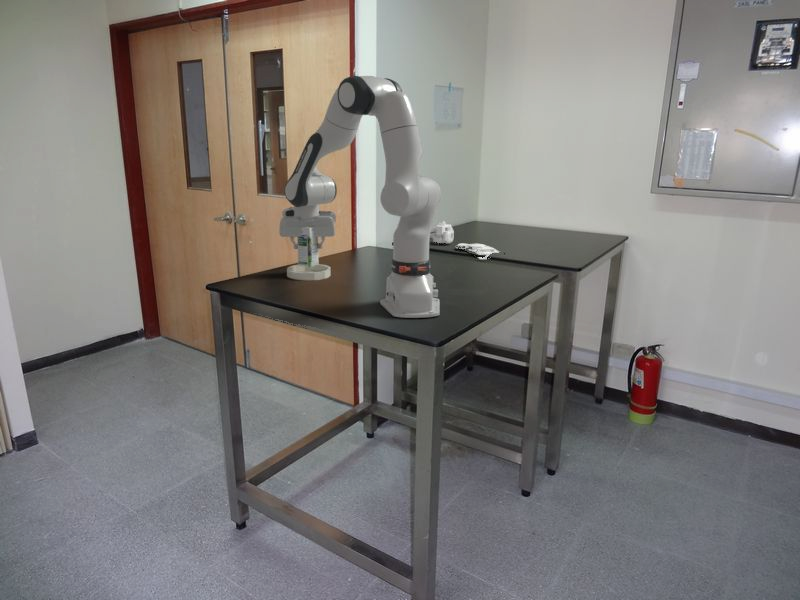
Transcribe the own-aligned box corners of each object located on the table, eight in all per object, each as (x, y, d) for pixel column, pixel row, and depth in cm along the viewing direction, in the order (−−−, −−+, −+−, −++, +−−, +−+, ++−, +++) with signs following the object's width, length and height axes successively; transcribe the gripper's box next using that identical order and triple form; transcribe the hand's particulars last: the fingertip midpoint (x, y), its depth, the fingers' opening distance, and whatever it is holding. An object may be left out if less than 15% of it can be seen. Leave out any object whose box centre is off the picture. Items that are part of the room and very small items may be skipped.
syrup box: (297, 265, 201) (296, 226, 197) (306, 262, 206) (305, 224, 202) (310, 267, 199) (309, 227, 195) (319, 264, 204) (318, 225, 200)
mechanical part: (435, 242, 279) (436, 219, 276) (456, 245, 273) (457, 221, 270) (424, 245, 270) (425, 221, 267) (446, 248, 264) (447, 224, 261)
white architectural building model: (465, 261, 238) (466, 251, 236) (453, 250, 262) (454, 241, 260) (515, 260, 240) (516, 250, 239) (499, 250, 264) (500, 241, 263)
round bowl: (330, 281, 197) (330, 272, 196) (285, 281, 195) (285, 273, 194) (330, 271, 212) (330, 263, 211) (289, 272, 210) (288, 264, 209)
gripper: (335, 210, 201) (336, 246, 205) (279, 210, 199) (281, 247, 202) (335, 212, 195) (336, 249, 199) (277, 212, 193) (279, 250, 196)
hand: (308, 248), depth 201 cm, fingers closed on syrup box, 7 cm apart
